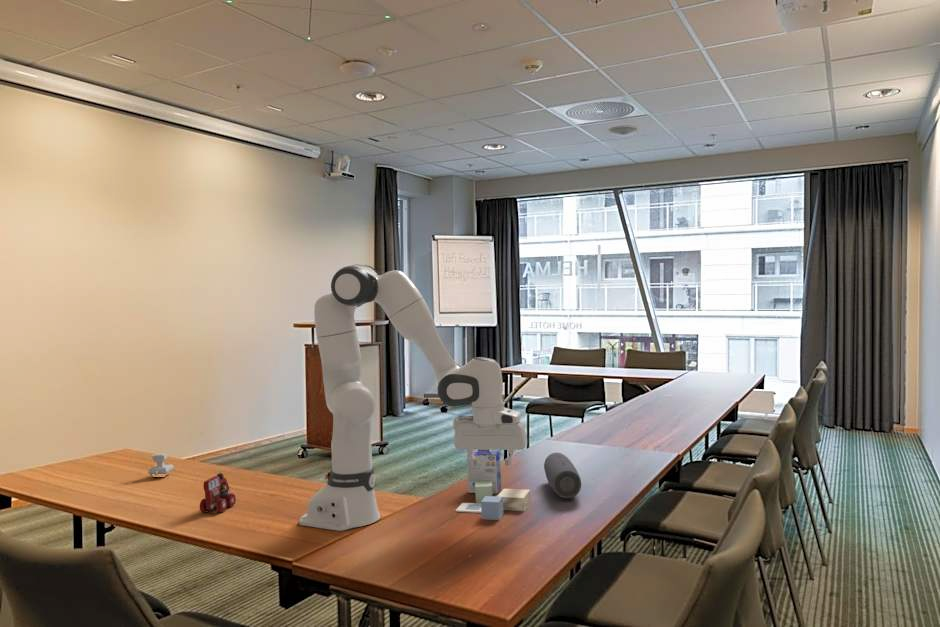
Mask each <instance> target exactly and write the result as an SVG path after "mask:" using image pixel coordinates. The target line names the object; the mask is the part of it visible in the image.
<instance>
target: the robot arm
mask: <svg viewBox="0 0 940 627" xmlns="http://www.w3.org/2000/svg"><path fill="white" fill-rule="evenodd" d="M330 288H331V289H330V290H331V293H327V294H324V295H322V296H320V297H319V298H318V299H317V300H316V302H315V303H314V310H313V311H314V313H313V314H314V327H315V333H316V334H315V336H316V340H317V347H318V351H319V356H320V361H321V369H322V382H323V389H324V390H323V391H324V397H325V398H324V399H325V403H326V407H327V409H328V410H329V412H330V413H331V414H332V417H333V418H332V421H333V422H332V436H331V438H332V439H331V443H330V444H331V447H330V448H331V467H332V468H331V470H330V471H328V472H327V473H326V474H324V478H323V479H324V480H327V483H326V484H325V485H324V486H323V487H322V488H320V489H319V490H318V491H317V492H316V493H315V494H314V495H313V496H312V497H311V498H310V500H309V501H308V504H307V512H306V513H304V514H303V515H302V516H301V517H300V518H299V522H298V524H299V525H300V526H304V527H305V526H306V527H312V528H317V529H325V530H332V531H337V532H339V531H341V532H342V531H346V530H349V529H354V528H358V527H363V526H367V525H368V526H369V525H371V524H373V523H375V522H378V520H380V518H381V513H380V511H379V507H378V503H377V499H376V494H375V493H376V492H375V486H376V485H375V484H376V483H375V481H376V478H375V469H374V466H373V453H372V436H373V435H372V434H373V433H372V432H373V424H374V412H375V406H376V404H375V399H374V395H373V394H372V392H371V390H370V389H369V388H368V387H367V386H365V385H363V384H364V383H363V379H362V353H361V348H360V341H359V336H358V332H357V326H356V321H355V311H356V309H357V308H359V307H361V306H362V305H365V304H367V303H372V302H374V303H376V304H378V305H379V306H380V307H381V308H382V310H383V311H384V313H385V314H386V316H387V318H388V320H389V322H390V323H391V324H392V326H393V327H394V328H395V329H396V332H398V333H399V334H400V335H401V337H403V338H404V339H405V340H407V341H409V342H411V343H412V344H414V345H415V346H417V347H418V348H419V349H420V350H421V352H422V353H423V354H424V357H426V359H427V361H428V362H429V365H430V366H431V367H432V369H433V370H434V372H435V374H436V377H437V384H438V385H437V395H438V398H439V399H440V401H441V402H442V403H443V404H445V405H446V406H449V407H454V408H455V407H462V406H464V405H468V404H471V407H472V408H471V409H472V415H458V416H457V417H455V418H454V419H453V423H452V424H453V429H454V436H453V438H454V440H453V441H454V444H453V445H454V448H455V449H456V450H465V451H466V453H467V455H469V457H470V458H471V459H472V465H478V458H475V456H474V454H473V452H475V450H477V451H478V450H489V451H494V450H495V451H496V450H497V451H502V450H503V451H506V450H507V453H508V454H509V455H508V457H506V458H505V459H504V466H506V467H511V466H512V458H513V457H514V455H515V453H516V452H515V451H523V450H524V449H525V448H526V447H527V446H528V439H527V432H526V427H525V425H524V423H523V421H521V418H522V413H521V412H520V411H517V410H513V409H511V408H508V407H505V403H504V399H503V390H504V385H503V383H504V382H503V374H502V367H501V366H500V363H499V362H498V361H496V360H495V359H493V358H489V357H483V356H478V357H477V356H475V357H472V359H471V360H469V361H468V362H467V363H465V364H463V365H461V366H460V365H459V364H457V362H456V361H455V360H454V359H453V357H452V356H451V354H450V352H449V351H448V349H447V348H446V346H445V344H444V342H443V341H442V339H441V338H440V335H439V334H438V331H437V328H436V323H435V320H434V317H433V314H432V312H431V310H430V308H429V306H428V304H427V301H426V300H425V298H424V297H423V295H422V293H421V292H420V290H419V289H418V287H416V285H415V284H414V283H413V281H412V280H411V279H410V278H409V276H407V275H406V273H404V272H403V271H402V270H397V269H396V270H389V271H386V272H385V273H383V274H381V275H380V274H379V272H378V271H377V269H375V268H373V267H372V266H369V265H367V264H357V263H356V264H351V265H347V266H344V267H342V268H339V269H338V270H337V272H335V274H334V275H333V277H332V278H331V282H330Z"/></svg>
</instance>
